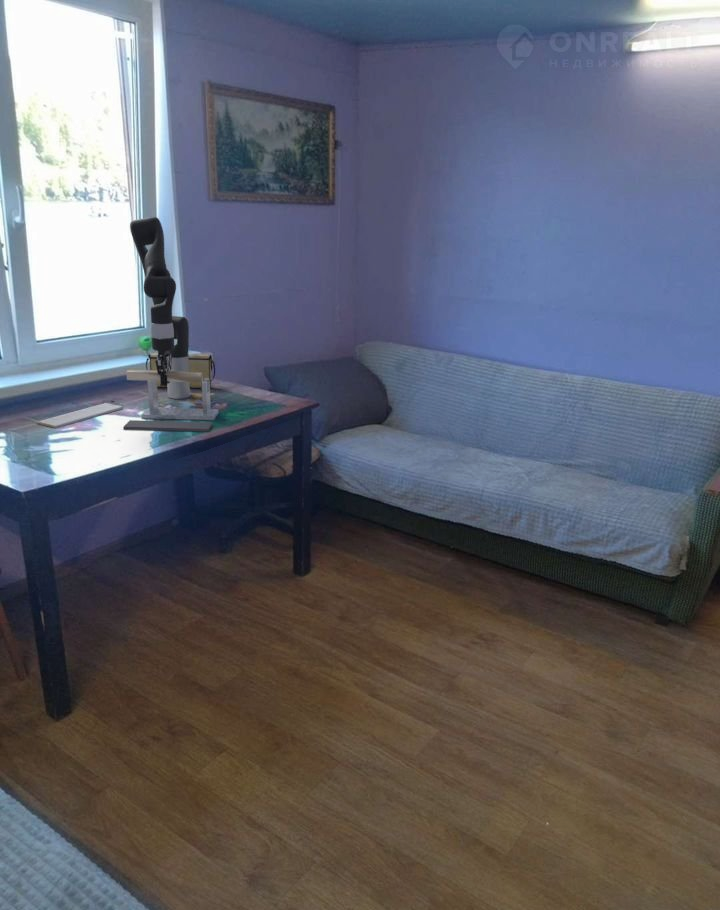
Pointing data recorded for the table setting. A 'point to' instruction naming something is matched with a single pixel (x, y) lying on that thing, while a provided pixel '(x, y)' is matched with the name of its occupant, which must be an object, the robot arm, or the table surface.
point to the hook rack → (179, 413)
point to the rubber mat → (168, 425)
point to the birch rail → (171, 376)
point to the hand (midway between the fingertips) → (165, 384)
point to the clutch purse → (190, 367)
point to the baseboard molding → (80, 415)
